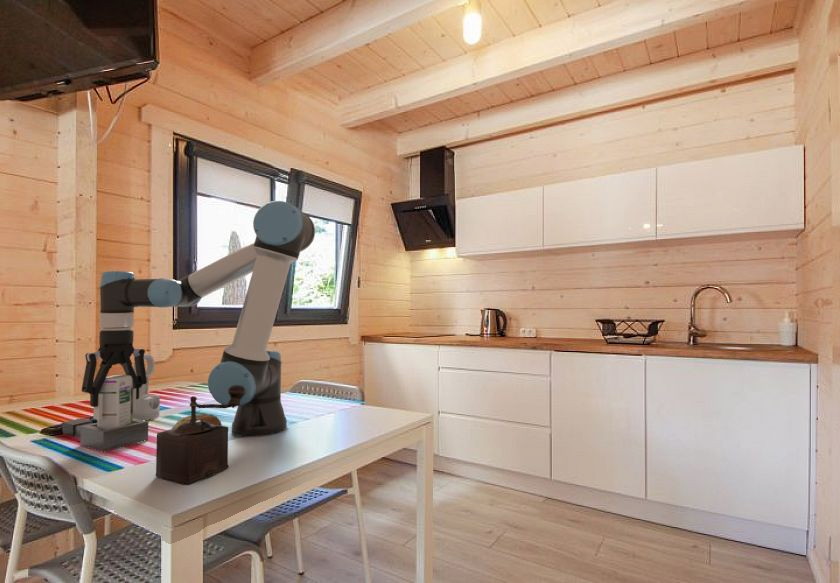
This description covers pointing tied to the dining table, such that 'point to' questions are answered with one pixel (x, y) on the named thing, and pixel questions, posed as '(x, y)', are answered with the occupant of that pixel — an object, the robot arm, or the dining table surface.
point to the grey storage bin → (106, 434)
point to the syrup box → (116, 402)
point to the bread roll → (205, 417)
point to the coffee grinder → (195, 445)
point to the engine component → (147, 396)
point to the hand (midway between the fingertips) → (115, 415)
